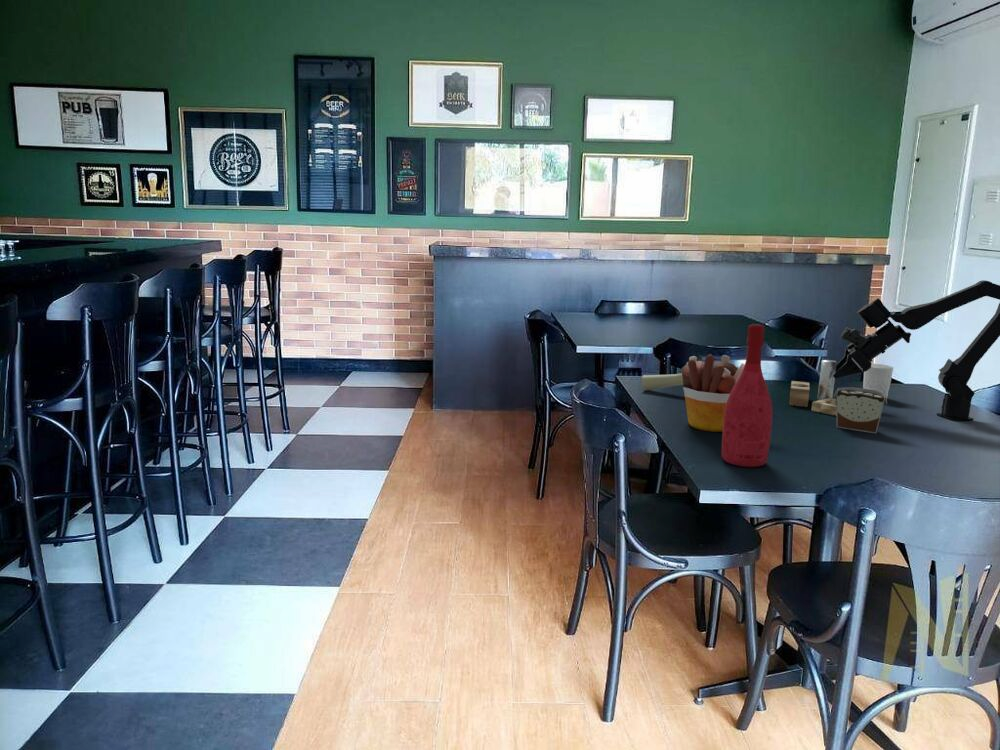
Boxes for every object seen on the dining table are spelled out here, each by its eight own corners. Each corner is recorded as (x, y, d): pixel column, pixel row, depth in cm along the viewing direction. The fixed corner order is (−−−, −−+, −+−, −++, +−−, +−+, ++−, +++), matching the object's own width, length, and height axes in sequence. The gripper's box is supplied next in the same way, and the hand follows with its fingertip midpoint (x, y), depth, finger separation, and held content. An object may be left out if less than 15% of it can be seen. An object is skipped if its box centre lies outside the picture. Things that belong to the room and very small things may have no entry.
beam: (789, 396, 225) (791, 380, 224) (807, 398, 223) (809, 382, 222) (789, 405, 214) (790, 387, 213) (807, 407, 212) (809, 389, 211)
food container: (886, 429, 189) (891, 391, 187) (882, 434, 184) (888, 395, 182) (834, 421, 196) (839, 385, 194) (830, 426, 191) (834, 388, 189)
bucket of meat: (689, 414, 200) (695, 341, 196) (752, 423, 191) (759, 348, 188) (666, 430, 183) (672, 351, 179) (734, 441, 174) (742, 359, 171)
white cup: (882, 395, 231) (886, 364, 229) (893, 401, 223) (897, 368, 221) (856, 394, 231) (860, 363, 229) (866, 399, 224) (870, 367, 222)
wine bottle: (757, 455, 164) (770, 321, 158) (775, 469, 154) (789, 327, 148) (714, 454, 164) (725, 320, 158) (729, 468, 154) (742, 326, 148)
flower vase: (652, 412, 232) (767, 403, 215) (638, 408, 222) (758, 397, 204) (650, 375, 234) (764, 363, 217) (636, 369, 224) (755, 356, 206)
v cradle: (833, 406, 214) (834, 398, 213) (850, 418, 200) (851, 409, 200) (804, 404, 214) (805, 396, 214) (819, 416, 201) (820, 407, 200)
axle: (834, 406, 214) (839, 362, 212) (821, 406, 214) (826, 362, 211) (826, 402, 218) (831, 359, 215) (814, 402, 217) (819, 359, 215)
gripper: (859, 315, 217) (814, 348, 223) (863, 322, 200) (815, 357, 206) (885, 344, 215) (839, 377, 222) (892, 353, 198) (841, 388, 205)
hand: (833, 374), depth 213 cm, fingers open, 9 cm apart
